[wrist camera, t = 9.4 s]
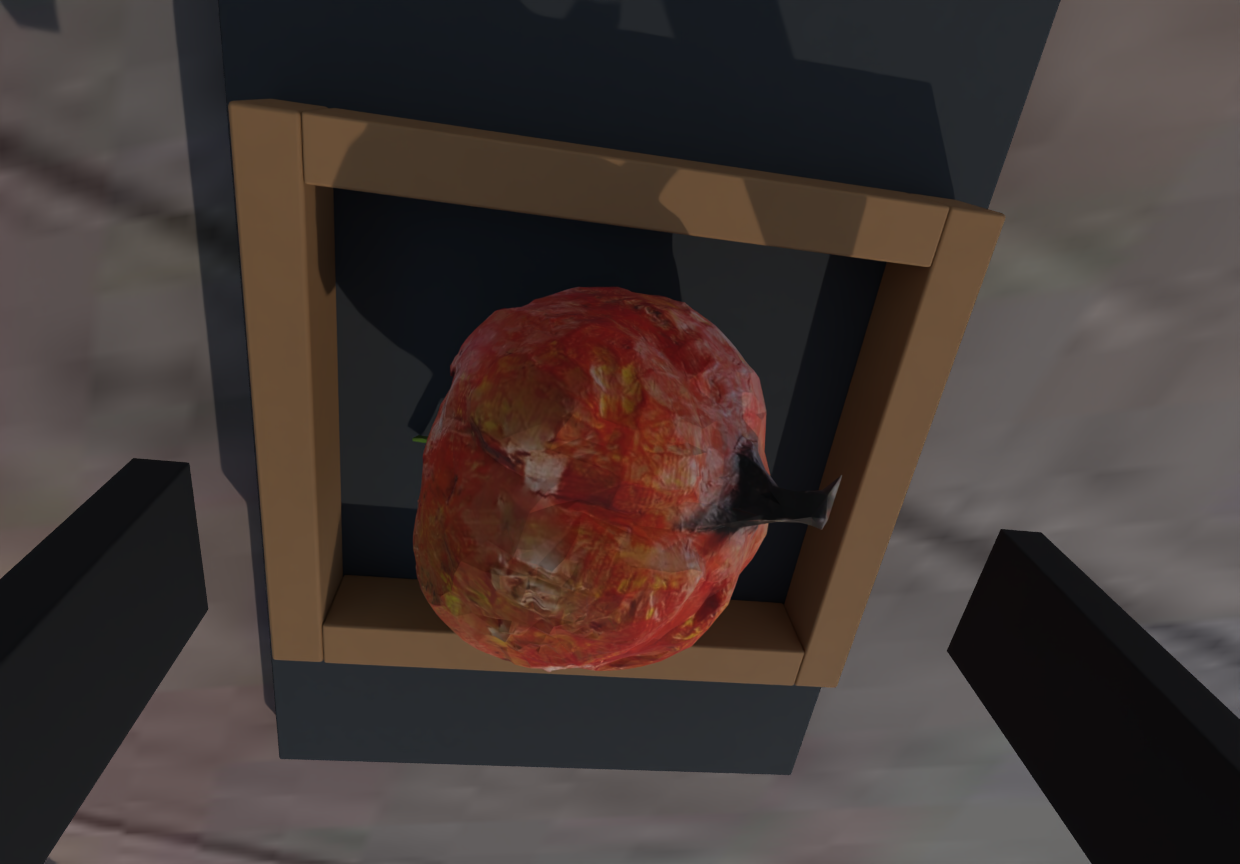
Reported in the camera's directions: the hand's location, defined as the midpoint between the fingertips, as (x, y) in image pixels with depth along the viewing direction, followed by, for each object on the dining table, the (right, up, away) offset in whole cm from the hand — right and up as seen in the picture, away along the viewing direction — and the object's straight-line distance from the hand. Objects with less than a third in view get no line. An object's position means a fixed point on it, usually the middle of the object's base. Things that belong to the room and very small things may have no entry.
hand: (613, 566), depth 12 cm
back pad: (-1, +3, +6) cm, 7 cm away
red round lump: (-1, +3, +6) cm, 6 cm away
